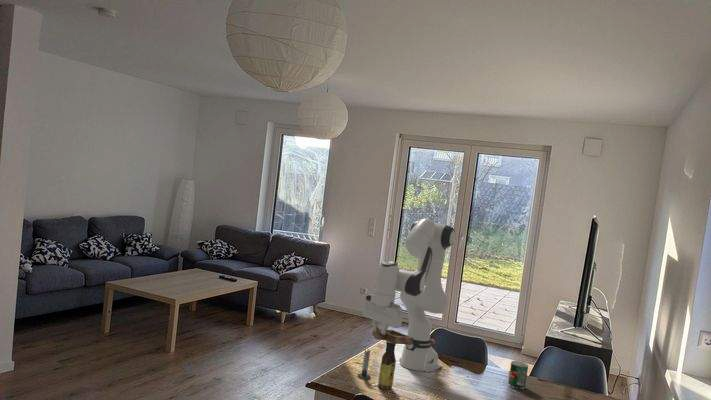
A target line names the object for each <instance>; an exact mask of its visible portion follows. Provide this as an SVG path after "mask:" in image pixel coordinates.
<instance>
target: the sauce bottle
mask: <svg viewBox="0 0 711 400" xmlns="http://www.w3.org/2000/svg"><path fill="white" fill-rule="evenodd" d="M385 344H386V345H385V352H384V353H383V354H382V355H381V362H380V366H379V368H380V369H379V373H378V380H377V381H378V384H377V386H378V388H379V389H382V390H391V389H392V388H393V384H394V377H395V372H396V371H395V370H396V363H397V359H396V355H395V354H396V353H395V351H396V350H395V349H396V348H395V347H396V345H397V344H393V343H390V342H388V341H386V343H385Z"/></svg>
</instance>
